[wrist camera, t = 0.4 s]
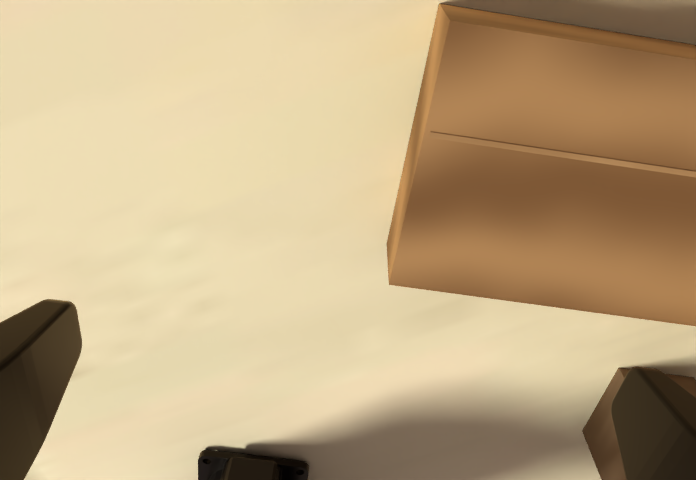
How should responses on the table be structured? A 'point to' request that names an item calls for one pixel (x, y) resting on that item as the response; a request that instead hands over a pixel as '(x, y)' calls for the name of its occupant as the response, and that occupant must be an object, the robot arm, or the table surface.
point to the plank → (551, 169)
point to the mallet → (603, 432)
